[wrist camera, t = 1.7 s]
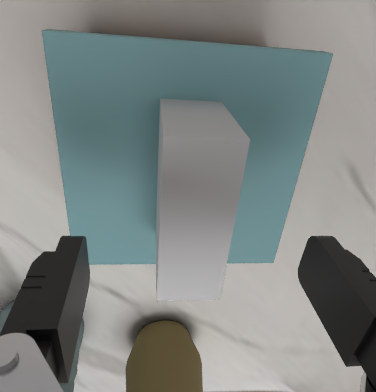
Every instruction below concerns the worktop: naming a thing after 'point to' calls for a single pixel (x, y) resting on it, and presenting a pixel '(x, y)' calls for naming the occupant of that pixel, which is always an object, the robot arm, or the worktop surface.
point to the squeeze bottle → (164, 360)
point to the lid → (180, 150)
